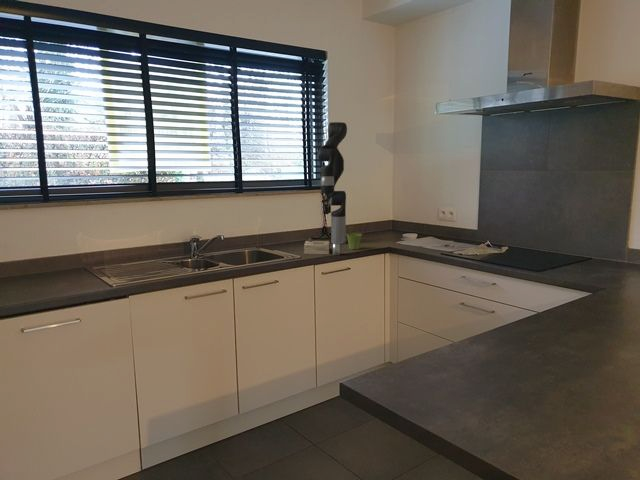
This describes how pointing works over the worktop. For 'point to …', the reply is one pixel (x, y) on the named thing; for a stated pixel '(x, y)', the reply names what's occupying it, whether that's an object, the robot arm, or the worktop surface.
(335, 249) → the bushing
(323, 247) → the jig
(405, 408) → the worktop surface
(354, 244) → the plant pot
